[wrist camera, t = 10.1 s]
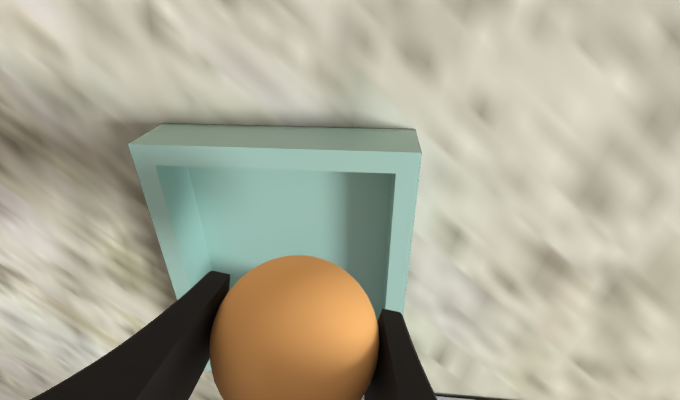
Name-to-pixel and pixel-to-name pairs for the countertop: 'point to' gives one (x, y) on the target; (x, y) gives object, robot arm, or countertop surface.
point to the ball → (294, 334)
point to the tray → (282, 200)
